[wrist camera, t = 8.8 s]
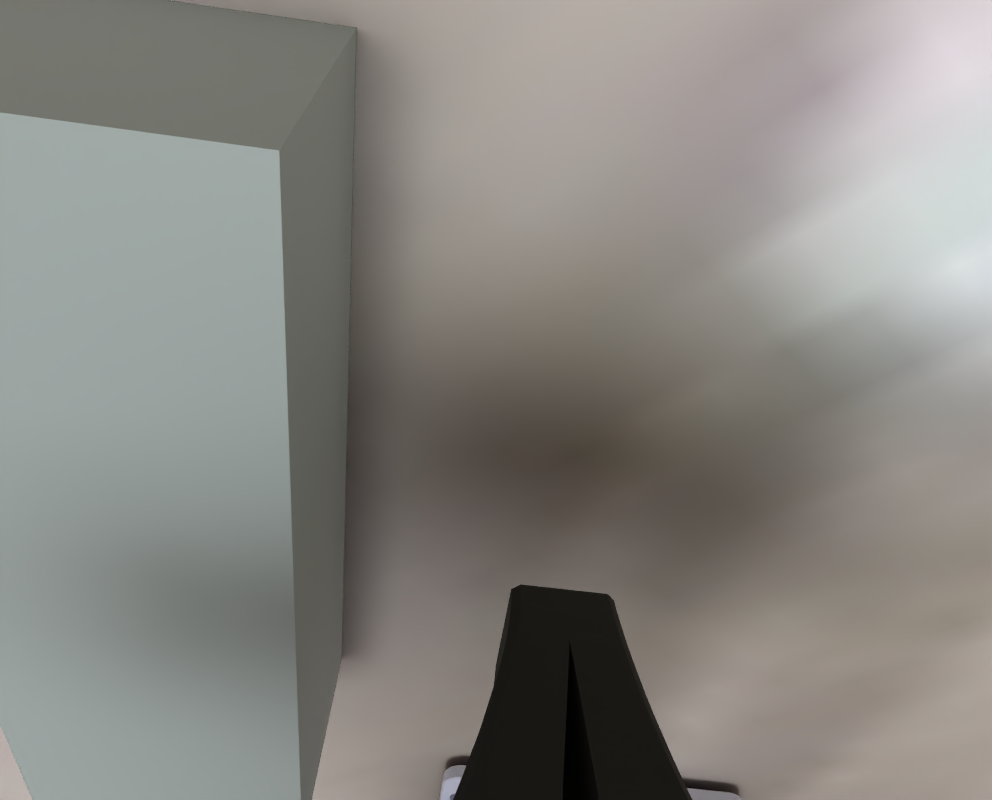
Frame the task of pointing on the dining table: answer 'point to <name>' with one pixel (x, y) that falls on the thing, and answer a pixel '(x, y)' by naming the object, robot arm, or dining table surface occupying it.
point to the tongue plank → (172, 395)
